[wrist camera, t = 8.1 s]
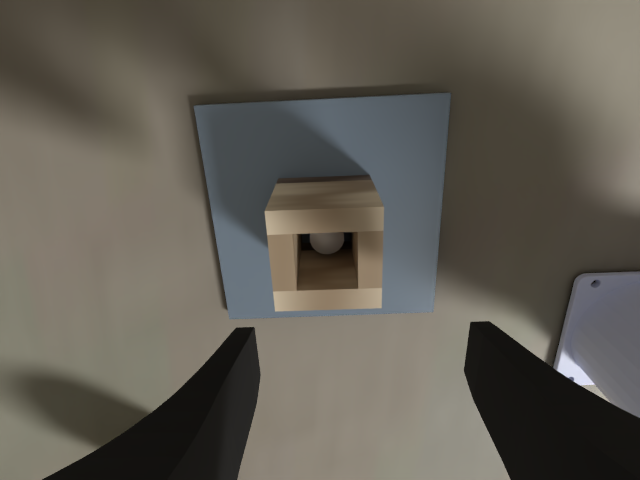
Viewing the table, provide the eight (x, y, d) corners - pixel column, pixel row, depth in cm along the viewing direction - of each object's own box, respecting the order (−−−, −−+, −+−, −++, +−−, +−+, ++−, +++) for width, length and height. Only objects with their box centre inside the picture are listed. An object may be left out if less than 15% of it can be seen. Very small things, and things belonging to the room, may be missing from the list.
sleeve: (369, 174, 19) (384, 206, 15) (369, 257, 21) (381, 308, 17) (278, 178, 20) (264, 211, 15) (285, 260, 21) (275, 311, 17)
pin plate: (447, 92, 18) (469, 96, 16) (430, 306, 23) (445, 338, 20) (197, 104, 19) (174, 110, 16) (231, 313, 24) (219, 346, 21)
